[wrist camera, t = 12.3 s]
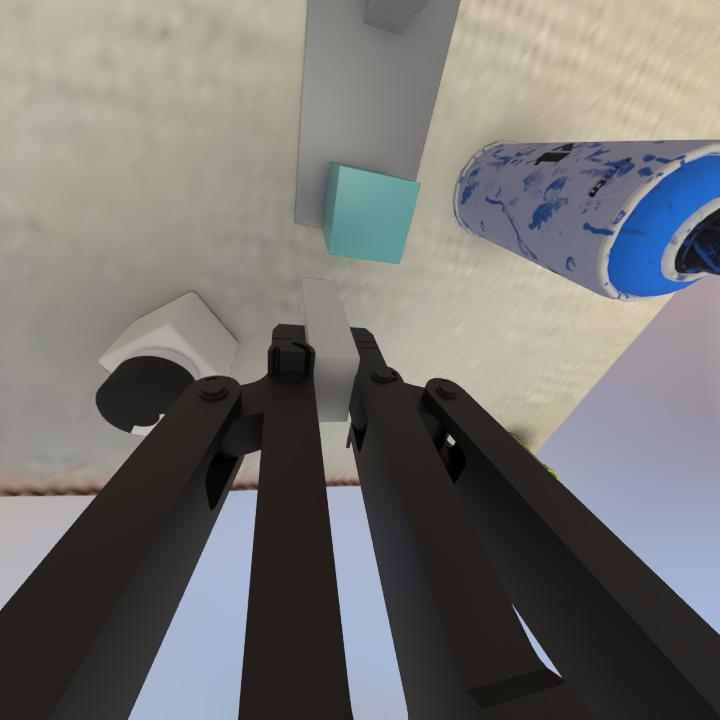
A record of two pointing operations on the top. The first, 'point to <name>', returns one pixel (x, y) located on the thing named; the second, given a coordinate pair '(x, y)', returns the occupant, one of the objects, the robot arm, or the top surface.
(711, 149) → the aerosol can
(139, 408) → the medicine bottle
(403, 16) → the grey post
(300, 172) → the board
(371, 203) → the teal rectangular block
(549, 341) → the top surface
